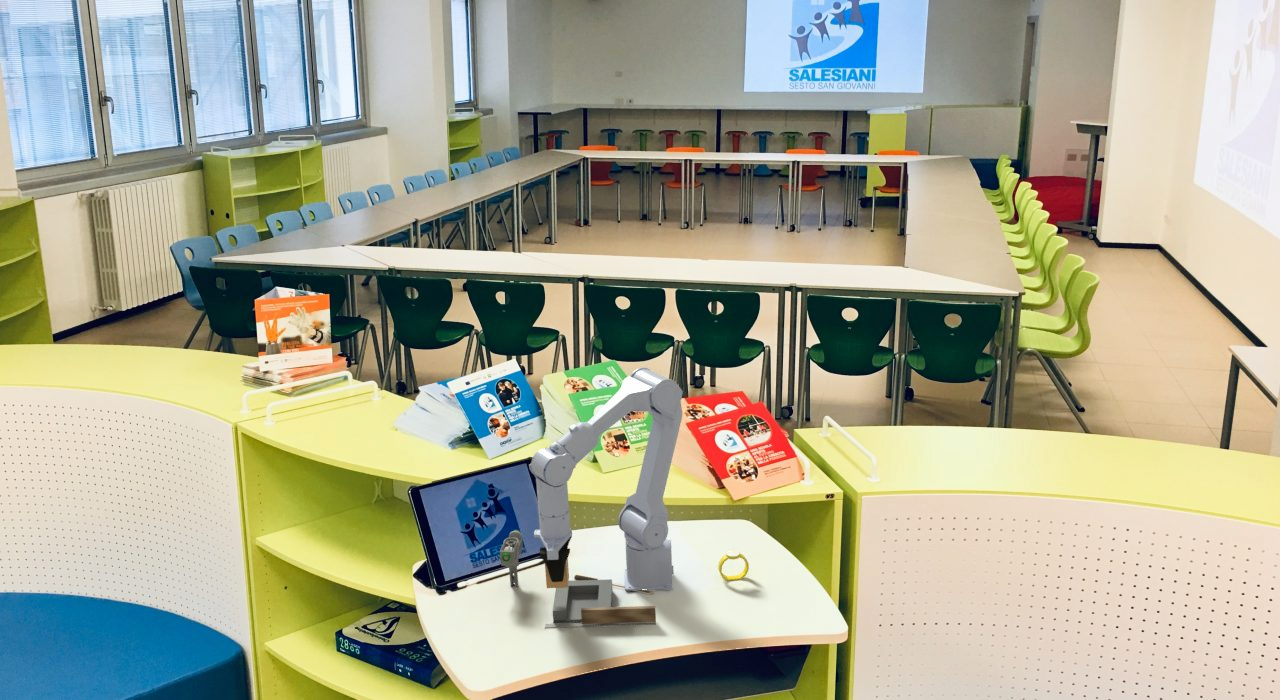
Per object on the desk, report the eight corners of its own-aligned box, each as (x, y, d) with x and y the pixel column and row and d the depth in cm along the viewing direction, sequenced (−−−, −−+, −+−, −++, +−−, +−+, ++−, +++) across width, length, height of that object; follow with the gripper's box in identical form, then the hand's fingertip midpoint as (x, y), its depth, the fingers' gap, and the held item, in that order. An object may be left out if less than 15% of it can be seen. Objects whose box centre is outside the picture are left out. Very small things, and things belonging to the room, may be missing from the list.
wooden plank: (655, 619, 207) (655, 605, 206) (655, 622, 206) (655, 608, 205) (582, 621, 207) (581, 608, 206) (581, 624, 206) (581, 610, 205)
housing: (654, 589, 218) (654, 578, 217) (655, 624, 206) (655, 612, 205) (550, 592, 218) (549, 581, 217) (544, 627, 206) (544, 615, 205)
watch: (721, 584, 220) (719, 559, 218) (718, 578, 222) (716, 552, 220) (750, 579, 220) (748, 553, 218) (747, 572, 223) (744, 547, 221)
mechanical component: (526, 572, 226) (523, 528, 223) (516, 598, 216) (512, 553, 213) (512, 571, 226) (508, 528, 223) (501, 598, 217) (498, 553, 214)
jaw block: (569, 576, 211) (567, 549, 209) (567, 587, 207) (565, 559, 205) (548, 577, 211) (546, 549, 209) (546, 588, 207) (544, 560, 205)
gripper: (536, 494, 211) (540, 556, 215) (528, 529, 197) (533, 595, 202) (572, 492, 211) (576, 555, 215) (567, 528, 197) (571, 594, 202)
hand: (558, 574), depth 209 cm, fingers closed on jaw block, 4 cm apart
